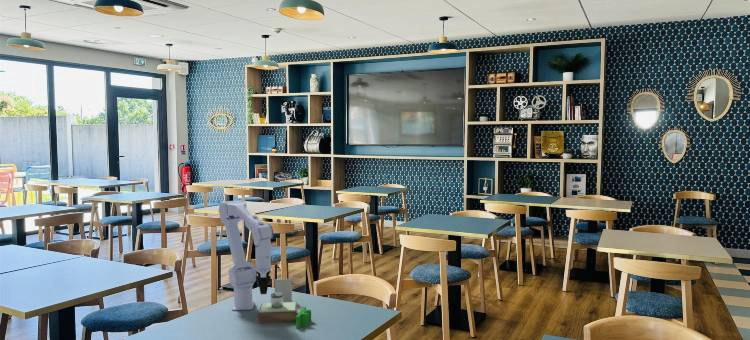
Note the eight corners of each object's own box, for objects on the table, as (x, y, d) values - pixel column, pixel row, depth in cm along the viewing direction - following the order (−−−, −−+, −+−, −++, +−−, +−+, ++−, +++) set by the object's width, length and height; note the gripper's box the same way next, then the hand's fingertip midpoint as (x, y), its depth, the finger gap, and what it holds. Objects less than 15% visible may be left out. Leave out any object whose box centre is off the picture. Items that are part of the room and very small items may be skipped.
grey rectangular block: (291, 303, 223) (291, 280, 223) (275, 304, 223) (274, 280, 222) (292, 301, 227) (291, 277, 226) (275, 301, 226) (275, 278, 226)
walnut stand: (261, 313, 211) (261, 302, 210) (297, 312, 212) (297, 301, 212) (258, 323, 200) (258, 312, 199) (296, 321, 201) (296, 310, 201)
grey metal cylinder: (270, 305, 207) (269, 292, 206) (281, 304, 208) (281, 291, 208) (272, 309, 203) (272, 296, 202) (284, 307, 204) (284, 294, 204)
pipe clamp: (306, 329, 194) (305, 316, 194) (296, 329, 195) (295, 316, 194) (313, 318, 205) (312, 306, 205) (303, 318, 206) (303, 306, 205)
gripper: (252, 252, 211) (253, 286, 212) (251, 261, 197) (252, 297, 198) (271, 251, 213) (271, 285, 214) (271, 260, 199) (272, 296, 199)
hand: (263, 291), depth 206 cm, fingers open, 7 cm apart
